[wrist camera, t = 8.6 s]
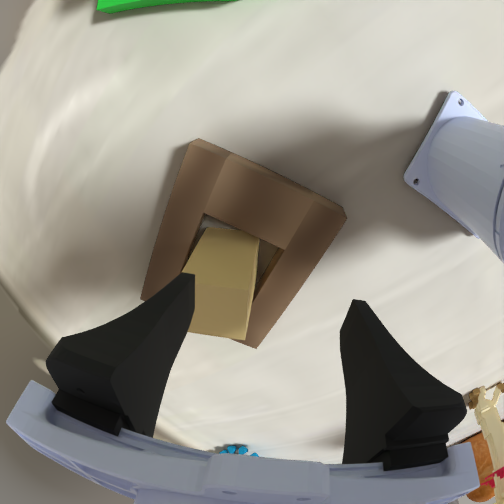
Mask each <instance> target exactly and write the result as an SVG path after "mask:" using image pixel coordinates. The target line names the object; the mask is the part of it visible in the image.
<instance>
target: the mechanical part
mask: <svg viewBox="0 0 504 504" xmlns="http://www.w3.org/2000/svg"><path fill="white" fill-rule="evenodd" d="M204 1H237V0H98V4H97V10H98V11H102V12H105V13H109V14H110V13H115V12H120V11H125V10H130V9H136V8H142V7H149V6H156V5H164V4H174V3H186V2H204Z"/></svg>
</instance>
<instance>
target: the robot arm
mask: <svg viewBox="0 0 504 504" xmlns="http://www.w3.org/2000/svg"><path fill="white" fill-rule="evenodd" d="M459 99H460V100H461V105H459V104H458V100H459ZM415 179H418V182H417V183H416V184H414V183H413V181H414V180H415ZM404 181H405V182H406V183H407V184H408V185H410V186H411V187H413V188H414V189H415V190H417V191H418V192H420V193H421V194H422V195H424V196H425V197H426V198H428V199H429V200H430V201H432V202H433V203H434V204H436V205H437V206H438V207H440V208H441V209H442V210H444V211H445V212H446V213H447V214H449V215H450V216H451V217H452V218H454V219H455V220H456V221H457V222H459V223H460V224H461V225H462V226H463V227H465V228H466V229H467V230H468V231H469V232H471V233H472V234H473V235H474V236H475V237H476V238H478V239H479V238H480V239H481V240H482V241H483V242H484V243H485V244H486V245H487V246H488V247H489V248H490V249H491V250H492V251H493V252H494V253H495V254H496V255H497V257H498V258H499V259H500V260H501V261H502V262H503V263H504V126H502V125H499V124H495V123H492V122H488V121H487V120H486V119H485V118H484V117H483V116H482V114H481V113H480V112H479V111H478V110H477V109H476V108H474V107H473V106H472V105H471V104H470V103H469V102H468V101H467V100H466V99H465V98H464V97H463V96H462V95H461V94H460V93H458V92H457V91H450V92H449V94H448V96H447V98H446V100H445V102H444V104H443V106H442V108H441V109H440V111H439V113H438V115H437V117H436V119H435V121H434V123H433V125H432V126H431V128H430V130H429V132H428V134H427V135H426V137H425V139H424V141H423V143H422V144H421V146H420V148H419V150H418V151H417V153H416V155H415V157H414V158H413V160H412V162H411V163H410V165H409V167H408V168H407V170H406V172H405V173H404ZM194 310H195V274H190V273H184V272H182V273H180V274H179V275H178V276H177V277H175V278H174V279H173V280H172V281H171V282H170V283H168V284H167V285H166V286H165V287H163V288H162V289H161V290H160V291H158V292H157V293H156V294H155V295H153V296H152V297H151V298H149V299H148V300H146V301H145V302H144V303H142V304H141V305H139V306H138V307H136V308H135V309H133V310H132V311H130V312H128V313H126V314H125V315H123V316H121V317H119V318H117V319H115V320H113V321H110V322H108V323H106V324H104V325H102V326H99V327H96V328H94V329H91V330H88V331H85V332H82V333H78V334H74V335H70V336H66V337H62V338H61V339H60V341H59V342H58V343H57V345H56V346H55V348H54V349H53V350H52V352H51V353H50V355H49V356H48V358H47V360H46V366H47V369H48V371H49V373H50V375H51V376H52V378H53V380H54V381H55V383H56V385H57V386H58V388H59V390H58V392H57V394H55V393H54V392H53V391H51V390H50V389H48V388H46V387H44V386H42V385H40V384H38V383H36V382H35V381H33V380H31V381H30V383H29V384H28V386H27V387H26V389H25V390H24V392H23V393H22V395H21V397H20V399H19V400H18V402H17V403H16V405H15V407H14V408H13V410H12V412H11V414H10V415H9V417H8V419H7V421H6V423H7V424H8V425H9V426H10V427H11V428H12V429H13V430H14V431H15V432H16V433H17V434H18V435H19V436H20V437H21V438H22V439H23V440H24V441H26V442H27V443H28V444H29V445H30V446H31V447H32V448H34V449H35V450H37V451H38V452H40V453H42V454H43V455H45V456H47V457H48V458H50V459H52V460H53V461H55V462H57V463H59V464H61V465H63V466H64V467H66V468H68V469H69V470H71V471H73V472H75V473H77V474H79V475H81V476H83V477H85V478H87V479H89V480H91V481H93V482H95V483H97V484H99V485H101V486H103V487H105V488H108V489H110V490H112V491H114V492H117V493H119V494H122V495H124V496H127V497H129V498H132V499H134V500H135V501H134V504H448V503H450V502H452V501H454V500H456V499H458V498H460V497H462V496H464V495H466V494H468V493H470V492H471V491H473V490H475V489H477V488H479V486H480V482H479V477H478V472H477V467H476V463H475V458H474V454H473V450H472V446H471V442H466V443H462V444H457V445H453V446H450V447H448V448H447V447H446V442H448V441H449V437H448V433H449V432H450V431H451V430H452V429H454V428H455V427H456V426H457V425H458V424H459V423H460V422H461V421H462V420H463V419H464V417H465V416H466V414H467V409H466V406H465V403H464V400H463V397H462V394H460V393H458V392H456V391H455V390H453V389H451V388H450V387H448V386H446V385H445V384H443V383H442V382H440V381H439V380H437V379H436V378H435V377H433V376H432V375H431V374H429V373H428V372H427V371H426V370H425V369H423V368H422V367H421V366H420V365H419V364H418V363H417V362H415V361H414V360H413V359H412V358H411V357H410V356H409V355H408V354H407V353H406V352H405V351H404V349H403V348H402V347H401V346H400V345H399V344H398V343H397V341H396V340H395V339H394V338H393V337H392V335H391V334H390V333H389V332H388V330H387V329H386V328H385V327H384V325H383V324H382V323H381V321H380V320H379V319H378V317H377V316H376V314H375V313H374V312H373V310H372V309H371V308H370V306H369V305H368V304H367V303H366V301H362V300H355V299H353V300H352V303H351V305H350V308H349V310H348V313H347V315H346V318H345V320H344V322H343V325H342V327H341V330H340V352H341V359H342V366H343V373H344V380H345V388H346V433H345V445H344V453H343V461H342V464H323V463H321V462H313V461H302V460H286V459H275V458H265V457H257V456H249V455H242V454H231V453H222V454H217V453H212V452H207V451H202V450H198V449H193V448H189V447H185V446H181V445H177V444H173V443H169V442H165V441H162V440H158V439H155V438H153V434H154V429H155V425H156V420H157V416H158V412H159V408H160V404H161V401H162V397H163V393H164V390H165V386H166V383H167V380H168V377H169V373H170V370H171V368H172V365H173V363H174V360H175V358H176V356H177V354H178V352H179V349H180V347H181V345H182V343H183V340H184V338H185V336H186V334H187V331H188V329H189V327H190V324H191V320H192V317H193V314H194Z"/></svg>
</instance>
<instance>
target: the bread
mask: <svg viewBox="0 0 504 504" xmlns="http://www.w3.org/2000/svg"><path fill="white" fill-rule="evenodd" d="M503 423H504V421H503ZM466 442H471V446H472V450H473V454H474V458H475V463H476V467H477V472H478V477H479V482H480V486H479V488H477V489H475V490H473V491H471V492H470V493H468V494H466V495H467V497H468V498H469V499H471V500H472V501H475V502H485V501H487V500H489V499H491V498H492V497H493V496H495V493H494V489H495V488H496V487H493V488H491V485H490V486H489V483H488V485H486V484H484V485H481V483H484V482H486V481H489V480H491V479H493V478H494V477H492V476H491V477H489V478H487V479H486V480H485V478H486V477H487V476H489V475H490V474H492V473H493V472H492V471H493V470H494V467H493V463H492V459H491V455H490V451H489V447H488V443H487V440H484V436H483V433H482V432H481V433H479V434H477V435H475V436H473V437H471V438H469V439H467V440H465V441H464V442H462V443H466ZM462 443H461V444H462Z"/></svg>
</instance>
